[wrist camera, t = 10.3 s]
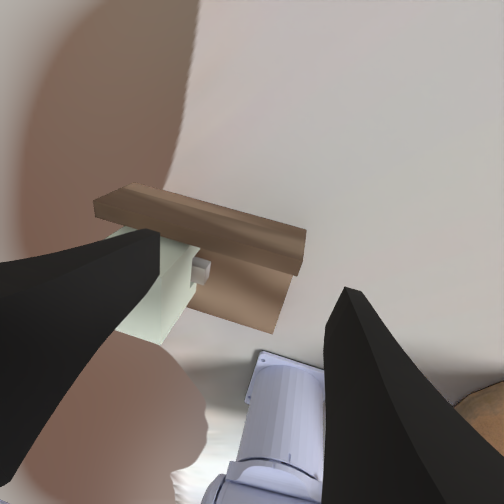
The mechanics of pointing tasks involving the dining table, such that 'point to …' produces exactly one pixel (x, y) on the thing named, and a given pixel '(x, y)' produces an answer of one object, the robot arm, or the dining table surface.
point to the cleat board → (218, 250)
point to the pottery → (486, 414)
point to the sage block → (162, 292)
